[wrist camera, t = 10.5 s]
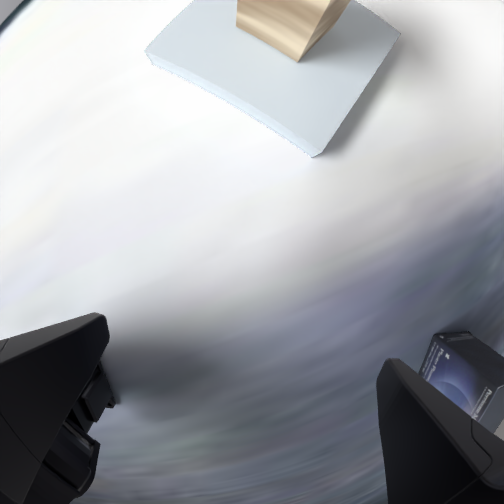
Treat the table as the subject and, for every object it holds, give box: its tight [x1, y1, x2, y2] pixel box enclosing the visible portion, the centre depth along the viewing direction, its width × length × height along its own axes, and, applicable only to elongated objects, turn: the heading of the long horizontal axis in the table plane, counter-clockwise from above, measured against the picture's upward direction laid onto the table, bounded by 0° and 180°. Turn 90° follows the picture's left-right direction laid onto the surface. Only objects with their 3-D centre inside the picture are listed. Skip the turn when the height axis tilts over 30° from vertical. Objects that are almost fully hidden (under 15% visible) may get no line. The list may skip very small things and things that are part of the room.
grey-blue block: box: [144, 0, 401, 158], centre depth 16 cm, size 14×14×3 cm
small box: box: [419, 331, 504, 433], centre depth 18 cm, size 11×6×10 cm, turn 173°
